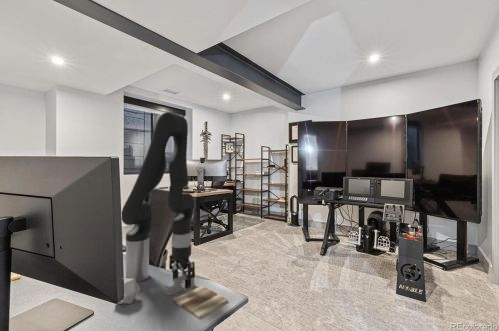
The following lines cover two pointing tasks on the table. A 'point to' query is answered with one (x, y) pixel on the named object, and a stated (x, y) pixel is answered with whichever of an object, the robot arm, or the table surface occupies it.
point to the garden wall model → (178, 285)
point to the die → (130, 290)
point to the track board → (200, 301)
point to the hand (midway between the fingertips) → (181, 284)
